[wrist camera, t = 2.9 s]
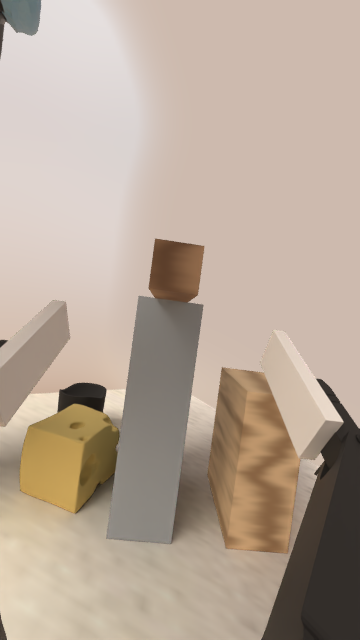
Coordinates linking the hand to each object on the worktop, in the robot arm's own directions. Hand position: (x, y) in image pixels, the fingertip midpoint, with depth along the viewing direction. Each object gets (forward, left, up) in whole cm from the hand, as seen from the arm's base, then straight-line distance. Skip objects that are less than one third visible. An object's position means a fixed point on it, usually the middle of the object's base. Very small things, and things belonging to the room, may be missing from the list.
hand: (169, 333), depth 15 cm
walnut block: (0, +16, +3) cm, 17 cm away
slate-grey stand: (0, +21, -27) cm, 34 cm away
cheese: (-12, +23, -27) cm, 38 cm away
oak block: (+15, +21, -27) cm, 37 cm away
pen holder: (-16, +37, -27) cm, 48 cm away
